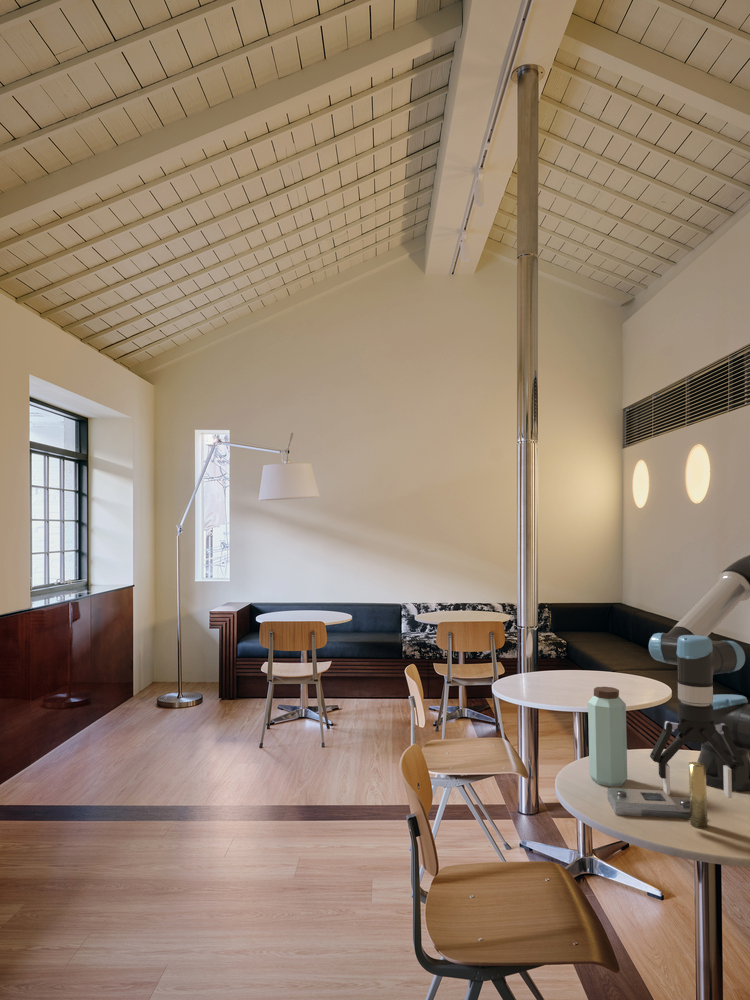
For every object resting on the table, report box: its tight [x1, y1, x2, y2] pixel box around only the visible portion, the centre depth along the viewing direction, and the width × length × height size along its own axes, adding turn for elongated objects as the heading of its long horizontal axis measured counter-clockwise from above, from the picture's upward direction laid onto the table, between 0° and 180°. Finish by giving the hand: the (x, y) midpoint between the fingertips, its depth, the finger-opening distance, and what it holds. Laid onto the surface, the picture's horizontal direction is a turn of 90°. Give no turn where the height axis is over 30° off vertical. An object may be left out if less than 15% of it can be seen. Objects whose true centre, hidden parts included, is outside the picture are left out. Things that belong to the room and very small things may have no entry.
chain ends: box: [607, 787, 690, 820], centre depth 163 cm, size 20×9×4 cm, turn 82°
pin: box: [688, 761, 708, 830], centre depth 154 cm, size 4×4×14 cm
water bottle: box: [587, 686, 628, 787], centre depth 182 cm, size 10×10×25 cm
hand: (697, 794), depth 154 cm, fingers open, 13 cm apart
